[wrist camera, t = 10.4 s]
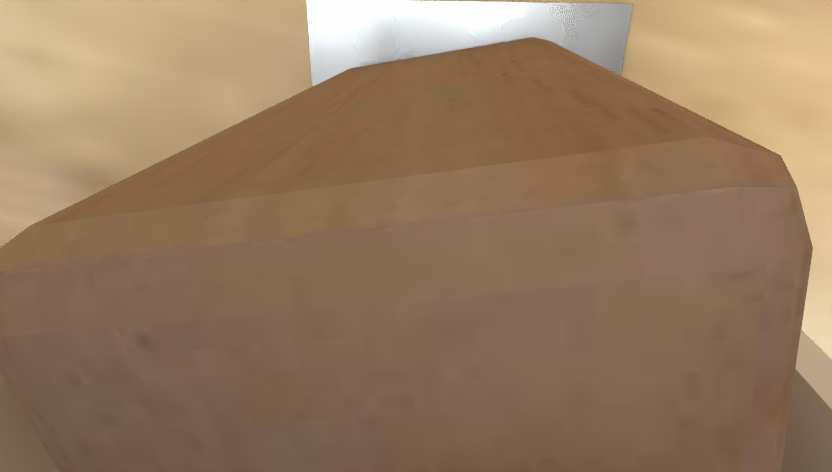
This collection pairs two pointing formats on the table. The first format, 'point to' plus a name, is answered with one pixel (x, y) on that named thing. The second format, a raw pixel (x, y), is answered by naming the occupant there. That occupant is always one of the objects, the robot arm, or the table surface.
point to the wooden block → (423, 285)
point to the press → (456, 30)
